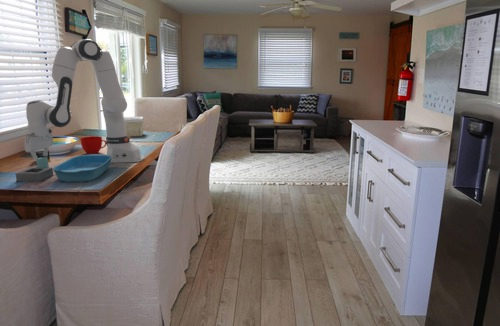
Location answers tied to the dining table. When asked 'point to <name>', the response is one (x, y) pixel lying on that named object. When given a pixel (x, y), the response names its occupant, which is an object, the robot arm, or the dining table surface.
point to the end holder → (34, 174)
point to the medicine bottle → (40, 154)
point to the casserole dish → (82, 168)
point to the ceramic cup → (92, 144)
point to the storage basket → (134, 126)
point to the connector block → (42, 162)
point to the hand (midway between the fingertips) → (40, 157)
